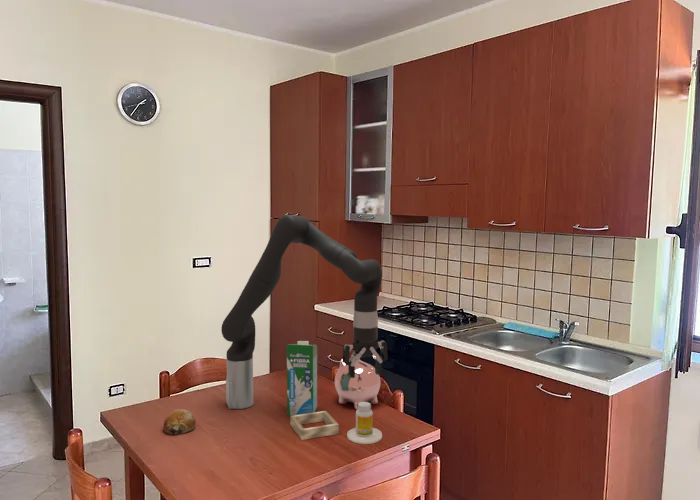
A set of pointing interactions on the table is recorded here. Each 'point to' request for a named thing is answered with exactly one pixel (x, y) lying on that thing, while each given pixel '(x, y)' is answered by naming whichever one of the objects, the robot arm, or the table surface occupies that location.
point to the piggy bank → (357, 384)
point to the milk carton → (301, 378)
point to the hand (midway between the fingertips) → (364, 375)
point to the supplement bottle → (364, 420)
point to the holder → (317, 431)
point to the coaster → (371, 439)
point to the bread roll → (179, 422)
